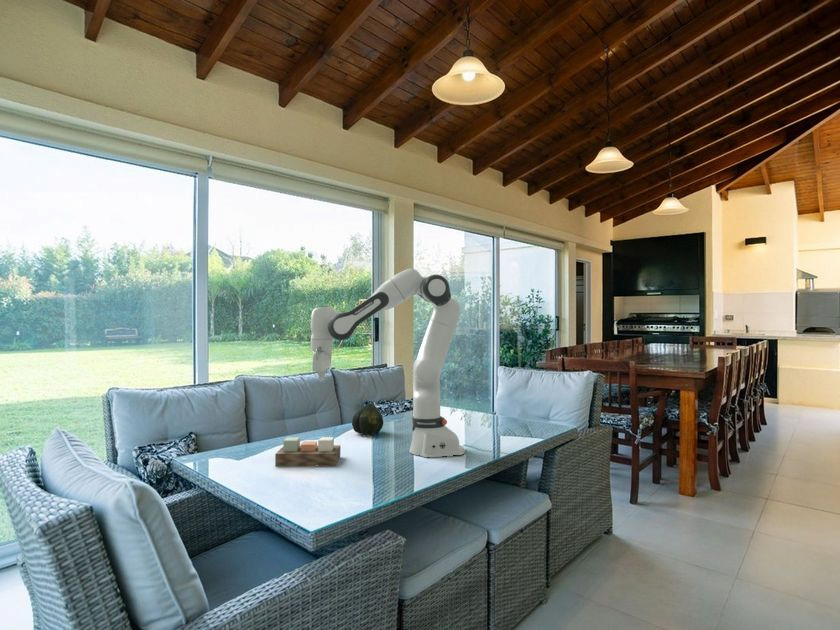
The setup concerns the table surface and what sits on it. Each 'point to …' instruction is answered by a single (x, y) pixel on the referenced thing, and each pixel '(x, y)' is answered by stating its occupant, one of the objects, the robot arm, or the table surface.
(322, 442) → the cream key
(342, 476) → the table surface
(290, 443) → the sage key
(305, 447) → the terracotta key
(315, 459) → the board
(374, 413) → the squash
